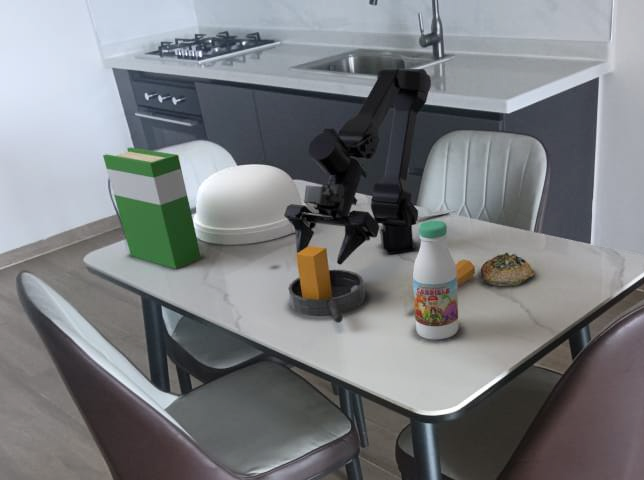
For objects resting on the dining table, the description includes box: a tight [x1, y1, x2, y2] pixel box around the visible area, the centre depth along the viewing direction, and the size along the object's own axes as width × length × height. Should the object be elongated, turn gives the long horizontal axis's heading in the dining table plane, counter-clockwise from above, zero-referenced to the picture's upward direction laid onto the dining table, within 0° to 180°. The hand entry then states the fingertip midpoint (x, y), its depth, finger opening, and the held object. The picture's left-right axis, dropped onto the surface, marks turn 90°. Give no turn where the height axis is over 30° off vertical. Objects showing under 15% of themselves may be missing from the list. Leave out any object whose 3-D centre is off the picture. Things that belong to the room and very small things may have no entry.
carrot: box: [455, 259, 476, 288], centre depth 146 cm, size 20×4×4 cm, turn 142°
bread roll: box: [480, 252, 535, 287], centre depth 150 cm, size 11×11×5 cm
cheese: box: [295, 245, 332, 299], centre depth 142 cm, size 4×4×12 cm
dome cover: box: [192, 163, 308, 246], centre depth 189 cm, size 32×30×14 cm
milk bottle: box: [412, 220, 459, 340], centre depth 128 cm, size 8×8×20 cm
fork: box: [379, 208, 458, 229], centre depth 184 cm, size 3×24×2 cm, turn 122°
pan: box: [288, 269, 366, 317], centre depth 146 cm, size 15×15×4 cm
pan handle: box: [328, 299, 344, 324], centre depth 137 cm, size 9×2×2 cm, turn 13°
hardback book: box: [102, 147, 202, 270], centre depth 170 cm, size 18×7×24 cm, turn 52°
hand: (318, 260), depth 142 cm, fingers open, 9 cm apart
